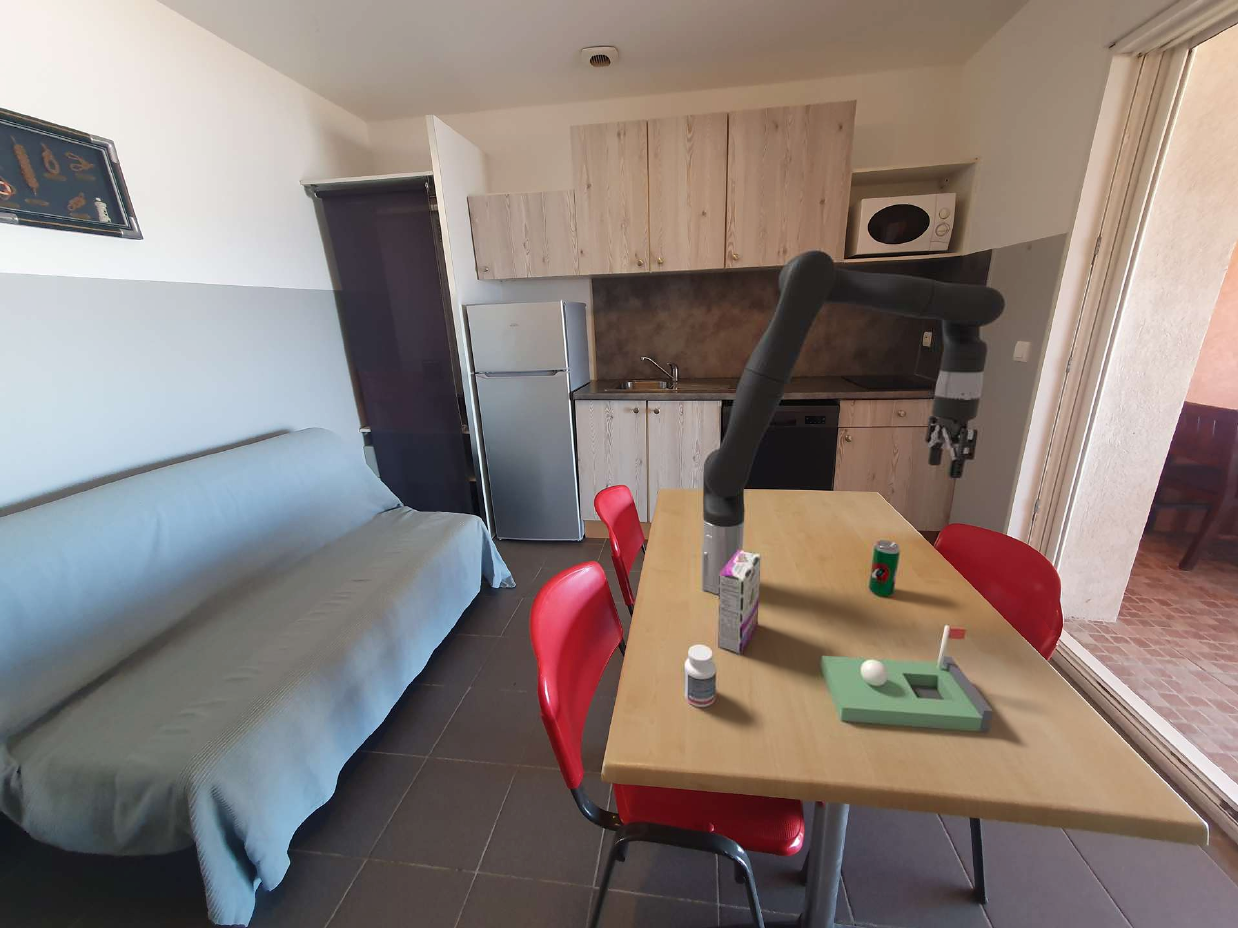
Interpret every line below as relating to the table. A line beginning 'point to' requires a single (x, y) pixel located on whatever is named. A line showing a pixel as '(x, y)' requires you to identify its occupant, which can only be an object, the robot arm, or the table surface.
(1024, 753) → the table surface
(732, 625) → the candy bar box
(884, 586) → the soda can
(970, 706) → the green
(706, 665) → the pill bottle
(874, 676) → the ball
